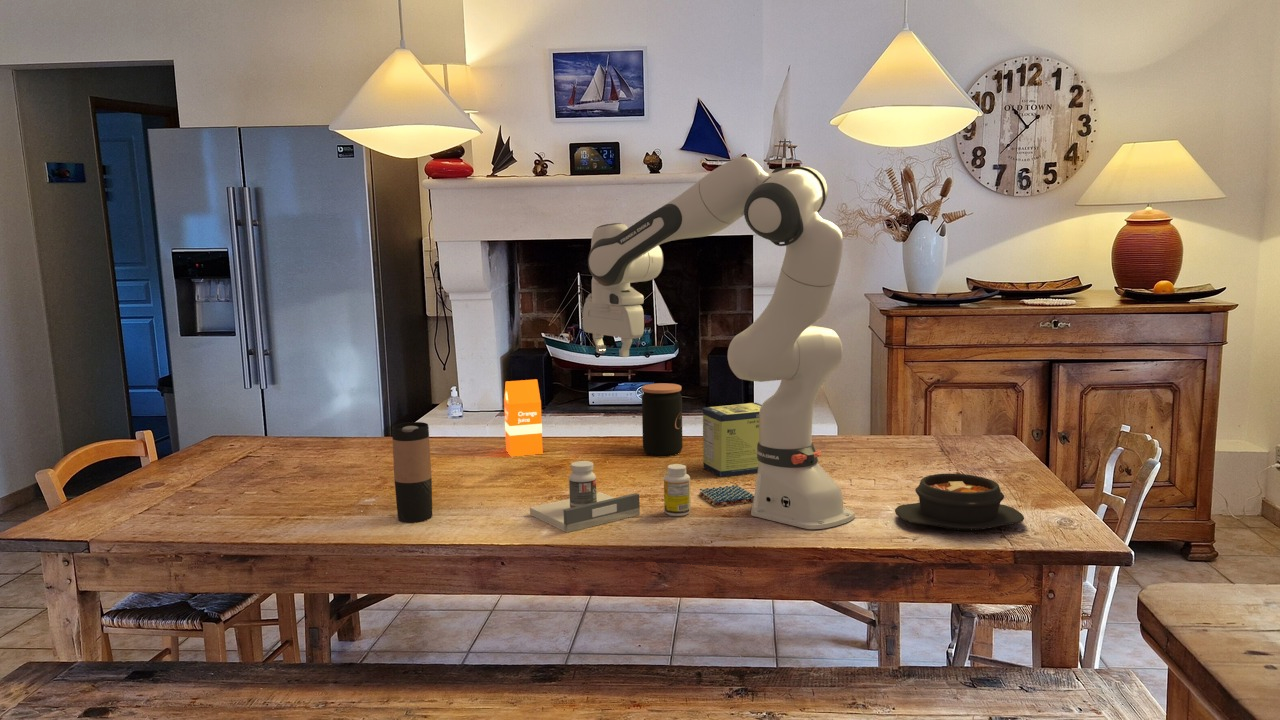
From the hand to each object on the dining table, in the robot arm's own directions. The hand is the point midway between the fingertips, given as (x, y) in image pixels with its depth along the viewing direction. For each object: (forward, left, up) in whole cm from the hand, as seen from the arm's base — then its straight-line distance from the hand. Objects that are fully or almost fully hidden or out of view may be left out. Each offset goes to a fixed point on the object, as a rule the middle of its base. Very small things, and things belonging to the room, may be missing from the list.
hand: (612, 354), depth 215 cm
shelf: (-14, +18, -31) cm, 39 cm away
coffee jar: (+18, -28, -31) cm, 46 cm away
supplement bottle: (-26, +2, -31) cm, 41 cm away
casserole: (-67, -38, -31) cm, 83 cm away
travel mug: (+7, +47, -31) cm, 57 cm away
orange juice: (+42, +1, -31) cm, 52 cm away
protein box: (-8, -32, -31) cm, 46 cm away
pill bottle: (-15, +19, -30) cm, 38 cm away
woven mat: (-25, -13, -32) cm, 43 cm away
